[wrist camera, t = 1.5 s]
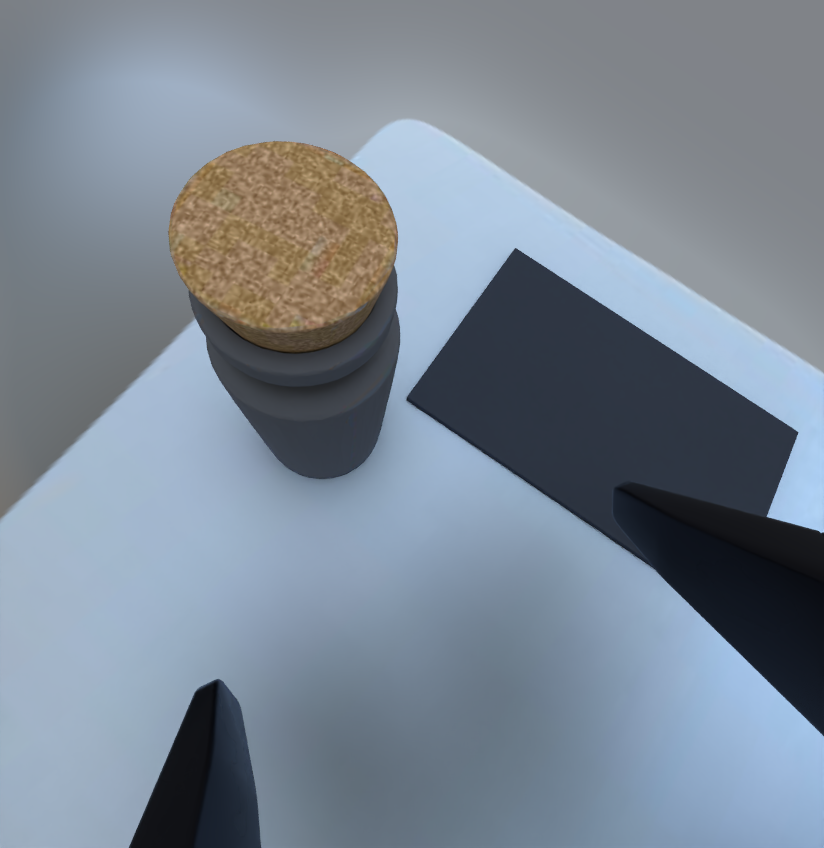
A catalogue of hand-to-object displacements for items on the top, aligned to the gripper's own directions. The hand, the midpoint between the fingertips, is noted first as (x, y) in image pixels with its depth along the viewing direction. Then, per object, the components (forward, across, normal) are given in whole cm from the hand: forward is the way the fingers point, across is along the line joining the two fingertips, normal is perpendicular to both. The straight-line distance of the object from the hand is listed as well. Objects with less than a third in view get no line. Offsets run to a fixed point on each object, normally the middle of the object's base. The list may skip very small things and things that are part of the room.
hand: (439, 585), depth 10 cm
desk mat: (+11, -15, +8) cm, 20 cm away
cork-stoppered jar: (+15, 0, +4) cm, 16 cm away
